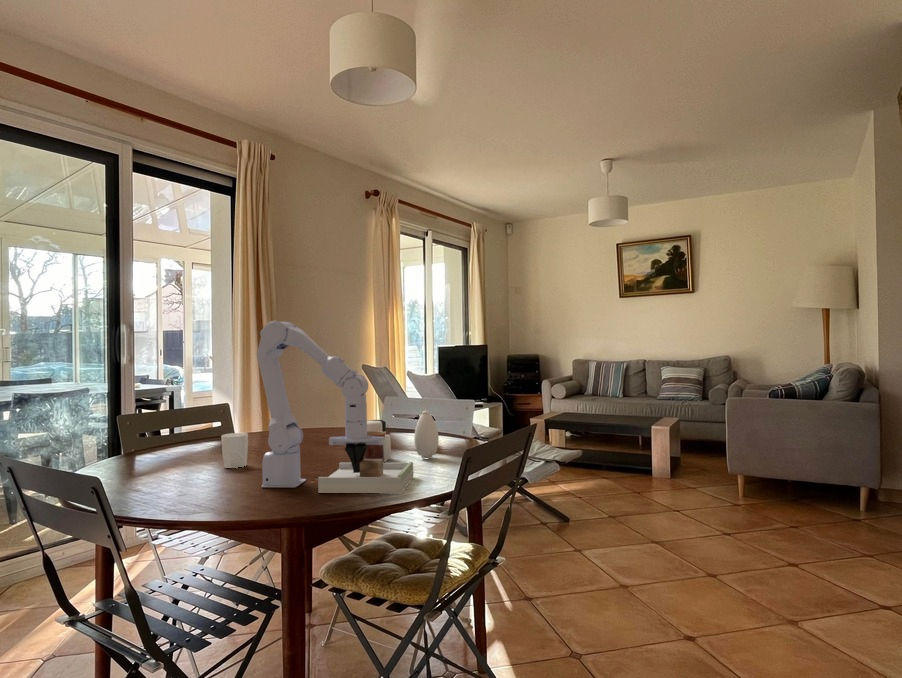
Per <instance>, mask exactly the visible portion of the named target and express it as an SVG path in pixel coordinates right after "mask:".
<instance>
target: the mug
mask: <svg viewBox="0 0 902 678" xmlns="http://www.w3.org/2000/svg"><path fill="white" fill-rule="evenodd" d="M385 435H387V432H386V433H385V432H380V431H369V432H367V436H377V437H384V438H385ZM364 459H383V463H384V444H383V445H368V447H367V449H366V452H365V454H364V457H363V460H364ZM363 460H362V461H363Z"/></svg>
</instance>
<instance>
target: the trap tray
mask: <svg viewBox="0 0 902 678" xmlns="http://www.w3.org/2000/svg"><path fill="white" fill-rule="evenodd" d="M338 466H339V467H338V469H337V470H336V471H334V472H333V473H331V474H330V475H329V476H318V479H317V483H318V486H317V487H318V488H317V489H318V493H387V494H386V495H401V494H402V493H403V492H404V490H405V489H406V487H407V486H408V485H409V483H410V482H411V481H412V479H413V478H414V462H413V461H409V462H385V463H383V474H382V475H381V476H380V477H360V472H359V473H354V471H353V467H352V463H351V462H339V463H338ZM412 477H413V478H412ZM410 480H411V481H410ZM409 481H410V482H409ZM407 484H408V485H407ZM406 485H407V486H406ZM404 488H405V489H404ZM403 489H404V490H403ZM401 492H402V493H401ZM388 493H389V494H388Z"/></svg>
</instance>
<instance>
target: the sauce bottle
mask: <svg viewBox="0 0 902 678" xmlns="http://www.w3.org/2000/svg"><path fill="white" fill-rule="evenodd" d="M413 438H414V439H413V440H414V448H415V450H416V452H417V454H418V456H420V457H421V458H422V459H424V458H430V459H431V458H433V456H434V455H436V452H437V451H438V447H439V439H440V438H439V430H438V426H437V425H436V421H435V419H434V418H433V416H432V415H431V413H430V411H429V410H428V409H427V403H425V405H424V410H423V411H422V412H421V415H420V416H419V418H418V420H417V423H416V426H415V428H414V437H413Z"/></svg>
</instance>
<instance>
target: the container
mask: <svg viewBox="0 0 902 678" xmlns="http://www.w3.org/2000/svg"><path fill="white" fill-rule="evenodd" d="M369 431H380V432H385V433H386V435H385V438H384V462H385V463H387V462H388V461H389V460H390V459H391V458H392V453H391V451H392V449H391V446H392V445H391V435H390V434H387V423H386V421H385V420H383V419H370V420H367V432H369ZM388 459H389V460H388ZM387 460H388V461H387Z"/></svg>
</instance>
